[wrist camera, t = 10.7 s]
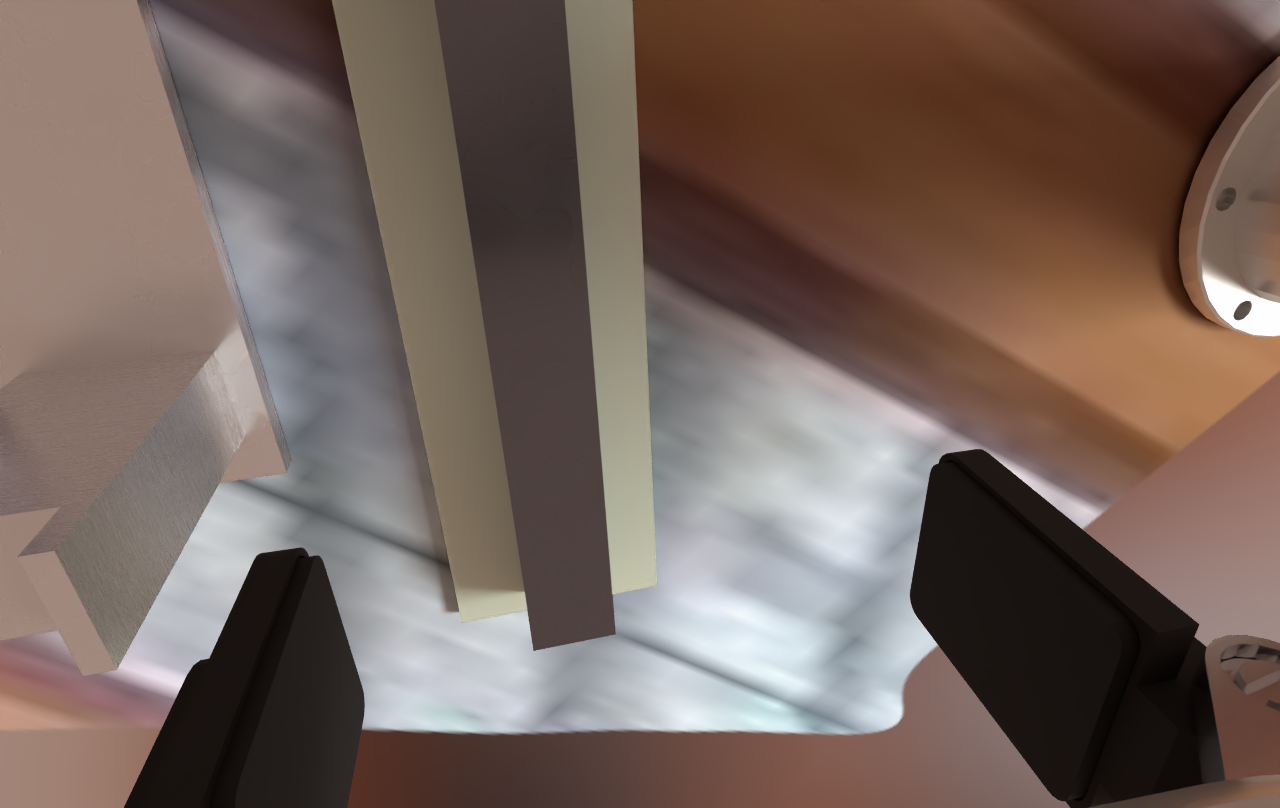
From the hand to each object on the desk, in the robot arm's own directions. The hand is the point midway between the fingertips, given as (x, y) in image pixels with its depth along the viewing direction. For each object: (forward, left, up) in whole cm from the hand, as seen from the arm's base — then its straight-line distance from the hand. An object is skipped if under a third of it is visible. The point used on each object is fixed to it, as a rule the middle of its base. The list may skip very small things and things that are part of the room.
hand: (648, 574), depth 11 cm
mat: (+1, 0, -15) cm, 15 cm away
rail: (+1, 0, -14) cm, 14 cm away
